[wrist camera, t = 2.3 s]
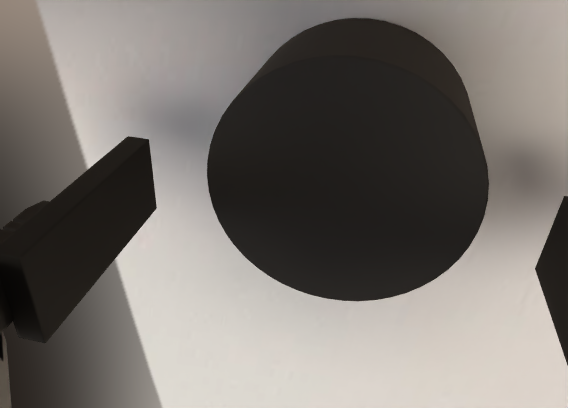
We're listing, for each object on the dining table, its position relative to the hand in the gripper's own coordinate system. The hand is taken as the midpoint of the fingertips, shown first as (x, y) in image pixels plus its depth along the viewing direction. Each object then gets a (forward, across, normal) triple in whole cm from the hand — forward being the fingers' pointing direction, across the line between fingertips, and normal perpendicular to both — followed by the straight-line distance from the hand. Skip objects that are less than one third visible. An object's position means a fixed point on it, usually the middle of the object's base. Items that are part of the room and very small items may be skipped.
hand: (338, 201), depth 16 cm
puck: (+5, 0, 0) cm, 5 cm away
